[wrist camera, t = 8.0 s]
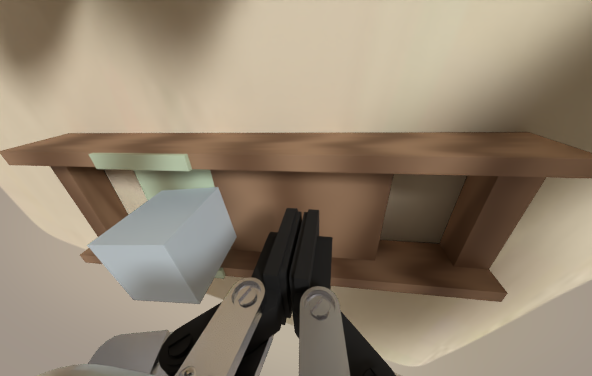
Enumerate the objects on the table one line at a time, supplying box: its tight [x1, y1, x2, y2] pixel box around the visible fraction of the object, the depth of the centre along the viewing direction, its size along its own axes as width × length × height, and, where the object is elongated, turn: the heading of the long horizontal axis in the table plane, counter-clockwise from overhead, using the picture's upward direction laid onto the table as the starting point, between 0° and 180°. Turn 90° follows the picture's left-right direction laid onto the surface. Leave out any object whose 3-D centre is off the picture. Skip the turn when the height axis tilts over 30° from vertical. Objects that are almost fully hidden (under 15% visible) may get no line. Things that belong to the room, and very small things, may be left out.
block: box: [87, 187, 237, 304], centre depth 15 cm, size 5×5×6 cm
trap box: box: [0, 132, 592, 302], centre depth 16 cm, size 35×11×5 cm, turn 92°
